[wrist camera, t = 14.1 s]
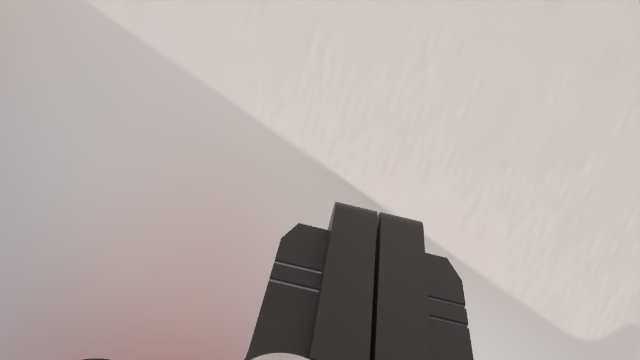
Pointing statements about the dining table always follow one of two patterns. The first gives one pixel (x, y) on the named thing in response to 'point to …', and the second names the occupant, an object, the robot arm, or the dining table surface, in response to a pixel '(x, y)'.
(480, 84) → the dining table surface
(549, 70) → the dining table surface
